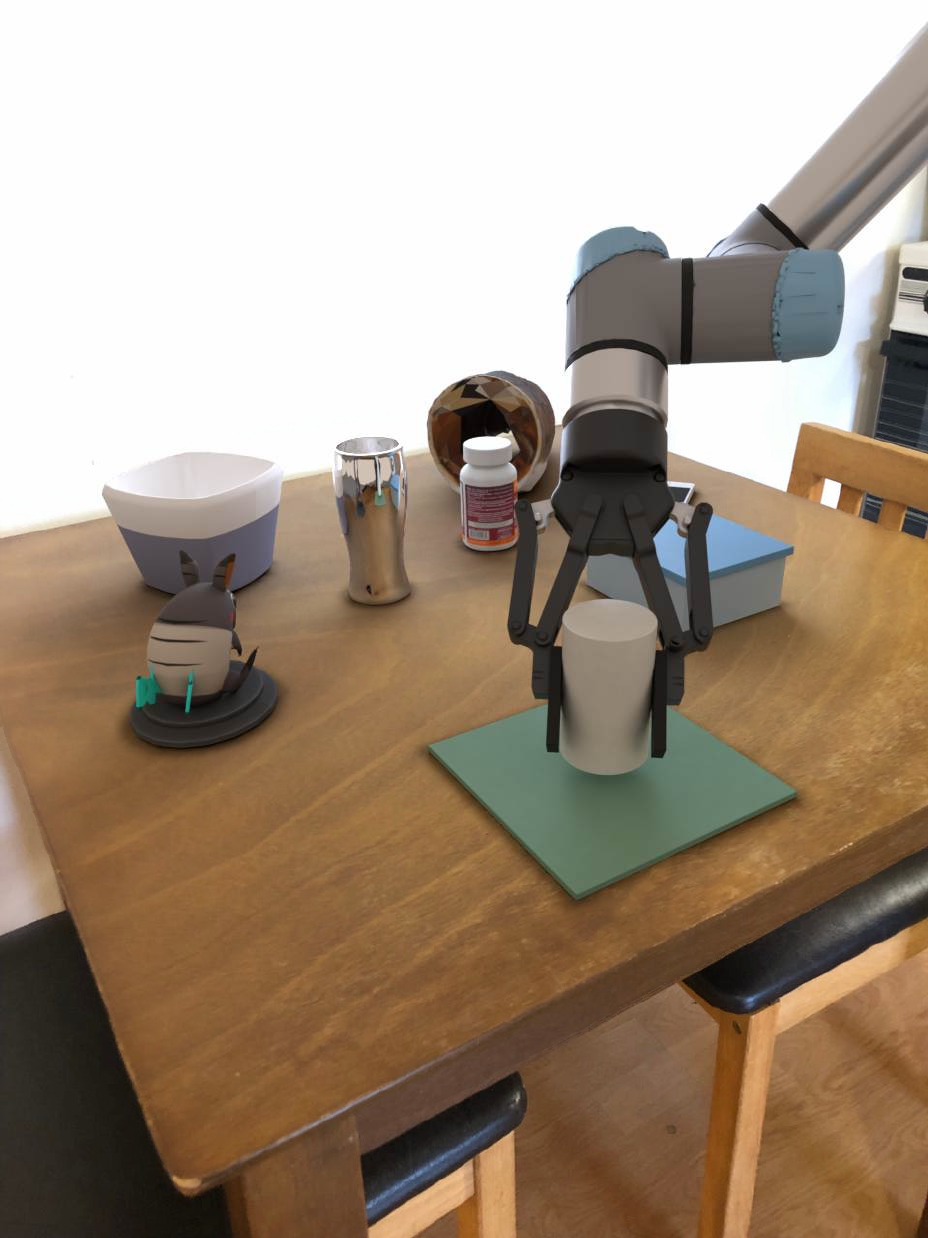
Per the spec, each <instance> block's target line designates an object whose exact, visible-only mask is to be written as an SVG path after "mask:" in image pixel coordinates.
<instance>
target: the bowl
mask: <svg viewBox="0 0 928 1238" xmlns="http://www.w3.org/2000/svg"><path fill="white" fill-rule="evenodd" d="M283 477H284V470H283V468H282V466H281V465H280V464H279V463H278V462H277V461H275V460H273V459H272V460H271V459H269V458H265V457H260V456H256V455H250V454H244V453H237V452H236V453H235V452H225V451H208V450H186V451H182V452H179V453H174V454H169V455H167V456H163V457H160V458H157V459H154V460H151V461H148V462H147V463H146V462H145V463H143V464H140V465H138V466H135V467H132V468H130V469H128V470H126V471H124V472H122V473H119V474H117V475H116V476H114V477H112V478H111V479H109V480H108V481H107V482H105V484H104V485H103V488H102V490H101V496H102V498H103V500H104V502H105V504H106V506H107V509H108V510H109V512H110V514H111V517H112V519H113V521H114V523H115V524H116V526H117V528H118V530H119V532H120V534H121V535H122V538H123V540H124V542H125V544H126V546H127V548H128V550H129V552H130V554H131V556H132V558H133V560H134V562H135V565H136V566H137V568H138V571H139V572H140V574H141V577H142V579H143V581H144V583H145V584H146V585H148V586H149V587H152V588H154V589H157V590H159V591H163V592H165V593H169V594H173V595H177V594H178V593H180V592H181V591H183V590H184V589H186V588H187V587H186V585H185V582H184V579H183V575H182V572H181V566H180V554H179V551H180V550H184V551H185V552H186V553H187V554H188V555H189V556H190V557H192V558H193V559H194V560H195V561H196V563H197V564H198V567H199V573H200V582H201V583H206V582H210V583H213V575H214V570H215V568H216V566H217V564H218V563H219V562H220V561H221V560H223V559H224V558H225V557H227V556H228V555H230V554H232V553H235V554H236V557H235V563H234V568H233V572H232V576H231V579H230V583H229V586H228V590H229V591H230V592H231V593H233V592H234V591H237V590H239V589H241V588H243V587H245V586H247V585H248V584H250V583H252V582H254V581H256V580H257V579H258V578H260V577H261V576H262V575H263V574H264V573H265V572H266V571H267V570H269V569H270V567H271V566H272V564H273V559H274V558H273V557H274V551H275V550H274V549H275V543H276V542H275V541H276V534H277V525H278V517H279V507H280V501H281V494H282V485H283Z"/></svg>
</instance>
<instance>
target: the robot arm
mask: <svg viewBox="0 0 928 1238" xmlns="http://www.w3.org/2000/svg"><path fill="white" fill-rule="evenodd" d="M927 166H928V21H926V22H925V24H924V25H923V26H922V27H921V28H920V29H919V30H918V31H917V33H915V35H913V37H912V38H910V40H909V41H908V42H907V43H906V44H905V45H904V46H903V47H902V49H901V50H899V52H898V53H897V54H896V55H895V56H894V57H893V58H892V59H891V61H890V62H888V64H887V65H886V66H885V67H884V68H883V69H882V70H881V71H880V73H878V75H877V76H875V78H874V79H873V80H872V81H871V82H870V83H869V84H868V85H867V86H866V87H865V89H863V91H862V92H861V93H860V94H859V95H858V96H857V97H856V98H855V99H854V100H853V102H852V103H851V104H850V105H849V106H848V107H847V108H846V109H845V110H844V111H843V112H842V113H841V114H840V115H839V116H838V118H836V120H835V121H834V122H833V123H832V124H831V125H830V126H829V127H828V128H827V129H826V130H825V132H824V133H823V134H822V135H821V136H820V137H819V138H818V139H817V140H816V141H815V143H813V144H812V146H810V148H809V149H808V150H807V151H806V152H805V153H804V154H803V155H802V156H801V158H800V159H799V160H798V161H797V162H796V163H795V164H794V165H793V166H792V167H791V169H789V171H787V173H786V174H785V175H784V176H783V177H782V178H781V179H780V180H779V181H778V182H777V184H775V186H774V187H772V189H771V190H770V191H769V192H768V193H767V194H766V195H765V196H764V198H762V200H761V202H760V203H759V204H758V205H757V206H756V207H755V208H754V209H753V210H752V211H751V212H750V213H749V214H748V215H747V216H746V217H745V218H744V219H743V221H742V222H741V223H739V225H737V227H736V228H735V229H734V230H733V231H732V232H731V233H730V234H729V235H727V236H726V237H724V238H721V239H719V241H717V242H716V243H715V244H714V246H712V248H711V249H710V250H709V251H708V253H707V254H706V255H705V256H704V257H703V256H702V257H695V258H694V257H684V258H682V257H671V256H670V254H669V250H668V246H667V245H666V244H665V242H664V241H663V240H662V238H661V237H659V236H658V234H656V233H655V232H653V231H651V230H639V229H637V228H636V227H635V226H633V225H616V226H611V227H607V228H604V229H601V230H599V231H597V232H595V233H593V234H592V235H590V236H589V237H587V238H586V239H585V240H584V241H583V242H582V243H581V244H580V245H579V247H578V248H577V250H576V252H575V253H574V255H573V258H572V263H571V270H570V280H569V287H568V293H567V294H566V297H565V299H566V315H565V318H566V319H565V320H566V321H565V349H564V351H565V353H564V354H565V355H564V374H563V375H564V376H563V387H562V388H563V390H562V409H561V425H562V429H563V430H562V432H561V435H560V452H559V453H560V455H559V472H558V473H559V476H558V484H557V486H556V488H555V489H554V490H553V492H552V495H551V497H550V498H547V499H544V500H540V501H535V502H532V503H531V502H530V501H529V500H528V499H525V498H521V499H517V502H516V503H515V505H514V510H515V516H516V523H517V527H518V539H517V548H516V556H515V564H514V571H513V578H512V586H511V593H510V601H509V607H508V608H509V609H508V616H507V623H506V628H507V632H508V637H509V641H510V642H511V643H512V644H513V645H516V646H522V647H525V648H528V649H529V650H531V652H532V666H531V667H532V669H531V683H530V684H531V685H530V687H531V691H532V695H533V697H534V700H543V701H545V700H547V704H548V713H547V733H546V747H547V752H554V753H559V736H560V713H561V677H562V645H555V644H556V642H557V639H558V636H559V634H560V631H561V630H562V618H563V615H564V613H565V612H566V610H568V609H569V608H570V606H571V603H572V599H573V597H574V594H575V592H576V589H577V587H578V585H579V582H580V579H581V576H582V574H583V571H584V570H585V568H586V567H587V561H588V558H589V556H602V555H606V554H614V555H617V556H621V557H631V558H632V561H633V565H634V568H635V570H636V571H637V573H638V576H639V579H640V582H641V586H642V589H643V592H644V595H645V598H646V601H647V604H648V607H649V610H650V611H651V612H653V613H654V615H655V616H656V618H657V621H658V625H657V639H658V641H659V644H660V647H661V649H656V653H655V667H654V681H653V695H652V713H651V758H663V757H664V755H665V753H666V738H667V706H670V707H672V706H675V707H679V706H680V705H681V702H682V700H683V699H684V698H683V697H684V695H685V658H686V657H687V656H689V655H690V654H694V653H703V652H705V651H706V650H707V649H708V648H709V647H710V644H711V642H712V640H713V637H714V633H715V631H714V628H713V617H712V605H711V592H710V579H709V567H708V554H707V542H706V533H707V530H708V527H709V524H710V520H711V517H712V514H714V508H713V506H712V505H711V504H710V503H708V502H704V501H702V502H699V503H697V505H696V506H695V505H691V504H688V505H687V504H684V503H680V502H676V501H675V499H674V496H673V494H672V492H671V491H670V489H669V487H668V482H667V481H668V454H669V453H668V451H669V449H668V447H669V446H668V445H669V444H668V442H669V441H668V440H669V439H668V438H669V435H668V432H667V427H668V422H669V366H675V365H681V366H682V365H683V366H684V365H685V366H686V365H695V364H696V365H697V364H699V365H700V364H723V363H726V364H727V363H751V362H781V363H790V362H791V361H797V360H803V359H814V358H823V357H825V356H828V355H829V354H830V353H832V352H833V350H834V349H835V348H836V346H837V344H838V342H839V339H840V335H841V332H842V326H843V321H844V314H845V313H844V312H845V302H846V301H845V298H846V277H845V275H846V274H845V267H844V263H843V260H842V257H841V256H840V254H839V253H840V252H841V251H842V250H843V249H844V248H845V247H846V246H847V245H848V244H849V243H851V241H852V240H853V239H854V238H855V237H856V236H857V235H858V234H859V233H861V231H863V229H864V228H866V226H867V225H868V224H869V223H870V222H871V221H872V220H874V218H876V216H877V215H879V213H881V211H883V209H884V208H886V206H888V204H889V203H890V202H891V201H893V200H894V198H895V197H897V196H898V195H899V194H900V193H901V191H902V190H903V189H904V188H906V186H908V184H910V183H911V181H912V180H914V178H916V177H917V176H918V174H920V173H921V172H922V171H923V170H924V169H925V168H926V167H927ZM552 518H555V520H556V521H557V522H558V523H559V525H560V526H561V528H562V529H563V530H564V531H565V533H566V534H567V536H568V537H569V540H568V543H567V546H566V551H565V553H564V556H563V559H562V561H561V564H560V567H559V569H558V572H557V574H556V576H555V579H554V582H553V584H552V587H551V589H550V592H549V594H548V596H547V600H546V602H545V605H544V607H543V610H542V613H541V615H540V618H539V620H538V623H537V624H536V625H534V624H531V623H530V618H531V610H532V601H533V594H534V586H535V579H536V578H535V577H536V570H537V562H538V556H539V555H538V553H539V537H538V536H540V535H543V534H544V533H545V532H546V531H547V529H548V523H549V521H550V519H552ZM669 519H671V520H673V521H674V522H675V523H676V525H677V533H678V535H679V536H681V537H683V538H686V541H685V547H684V559H685V573H686V587H687V602H688V616H689V630H687V631H684V632H682V629H681V626H680V623H679V620H678V617H677V614H676V611H675V608H674V605H673V602H672V599H671V596H670V593H669V590H668V587H667V584H666V581H665V578H664V575H663V572H662V569H661V566H660V563H659V559H658V556H657V553H656V546H655V543H654V540H653V538H654V537H655V536H656V535H657V533H658V532H659V531H660V530H661V529H662V527H663V526H664V525H665V524H666V522H667V521H668V520H669Z"/></svg>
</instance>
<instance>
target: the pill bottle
mask: <svg viewBox="0 0 928 1238" xmlns="http://www.w3.org/2000/svg"><path fill="white" fill-rule="evenodd" d="M512 446H513V445H512V441H511V440H510V439H508V438H505V437H501V436H496V437H478V438H473V439H469V440H467V441H465V442H464V444H463V459H464V461H465V462H466V463H468V464H466V465H465V466H464V467H463V468H462V470H461V472H460V491H461V494H460V513H461V515H460V516H461V535H462V542H463V544H464V545H465V546H466V547H468V548H469V549H472V550H475V551H479V552H480V551H481V552H496V551H503V550H506V549H509V548H511V547H513V546H514V545H515V544H516V543H517V542H518V539H519V531H518V527H517V523H516V516H515V510H514V505H515V503H516V502H517V501H518V494H517V471H516V469H515V467H514V466H513V465H512V464H511V463H509V462H511V461H512V459H513V447H512Z"/></svg>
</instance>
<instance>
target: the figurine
mask: <svg viewBox="0 0 928 1238" xmlns="http://www.w3.org/2000/svg"><path fill="white" fill-rule="evenodd" d="M179 554H180V566H181V572H182V575H183V579H184V582H185V585H186V587H187V588H186V589H184V590H183V591H181V592H180V593H178V594H175V595H174V596H173V597H172V598H171V599H170V600H169V601H168V602H167V603H166V605H165V606H164V607H163V608H162V610H161V611H160V613H159V614H158V615H157V617H156V619H155V620H154V623H153V626H152V628H151V630H150V633H149V637H148V640H147V650H146V663H147V664H146V665H147V670H148V673H149V677H150V678H149V677H145V676H142V675H138V676H136V679H135V681H136V682H135V695H136V698H135V701H134V703H133V704H132V705H131V707H130V713H129V725H130V727H131V728H132V730H133V731H134V733H135V734H136V735H137V737H138V738H139V739H141V740H144V741H146V742H149V743H151V744H152V745H155V746H160V747H169V748H178V749H181V748H182V749H183V748H184V749H185V748H192V747H201V746H209V745H212V744H216V743H219V742H223V741H226V740H229V739H233V738H236V737H237V736H240V735H241V734H243V733H245V732H246V731H248V730H251V729H253V728H254V727H256V726H258V725H259V724H260V723H261V722H262V721H263V720H264V719H265V718H266V717H268V716H269V715H270V714H271V713H273V710H274V708H275V706H276V703H277V701H278V699H279V694H278V693H279V692H278V687H277V681H276V679H274V678H273V677H272V676H271V675H270V674H269V673H268V671H266V670H263V669H261V668H258V667H256V666H254V663H255V660H256V657H257V653H258V649H259V647H260V645H258V646H257V647H256V648H255V649H253V651H252V652H251V653H250V655H249V657H248V659H247V660H246V662H244V661H242V660H239V659H238V660H236V659H231V655H232V654H231V653H232V650H236V651H237V654H238V655H237V657H238V658H240V657H242V656H243V655H242V653H243V646H242V643H241V640H240V638H239V637H238V634H237V632H236V631H235V630H234V629H235V628H236V624H237V610H236V609H237V605H238V604H237V598H236V596H235V595H234V594H233V592H230V591H229V590H228V586H229V583H230V579H231V576H232V572H233V568H234V563H235V557H236V554H235V553H232V554H230V555H228V556H227V557H225V558H224V559H223V560H221V561H220V562H219V563H218V564H217V566H216V568H215V570H214V575H213V583H210V582H206V583H201V582H200V573H199V567H198V564H197V563H196V561H195V560H194V559H193V558H192V557H190V556H189V555H188V554H187V553H186V552H185V551H184V550H180V551H179Z"/></svg>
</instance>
